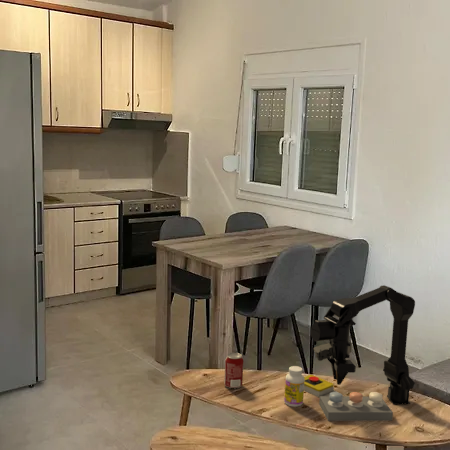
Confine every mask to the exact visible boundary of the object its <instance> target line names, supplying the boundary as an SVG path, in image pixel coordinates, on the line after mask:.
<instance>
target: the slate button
mask: <svg viewBox="0 0 450 450" xmlns="http://www.w3.org/2000/svg"><path fill="white" fill-rule="evenodd" d="M343 396H344V395H343V394H342V393H340V392H338V391H337V392H331V393H330V396H329V400H330V401H332V402H335V403H339V402H342V399H343Z"/></svg>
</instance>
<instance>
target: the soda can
mask: <svg viewBox="0 0 450 450" xmlns="http://www.w3.org/2000/svg"><path fill="white" fill-rule="evenodd" d="M243 358H244V357H243V355H242V354H241V353H239V352H230V353H227V355H226V358H225V360H224V380H223V382H224V383H223V384H224V386H225V387H226V388H228V387H229V389H231V388H234V389H233V390H235V389H236V388H237V389H239V388H241V387H242V386H243V382H244V381H243V379H244V377H243V376H244V375H243V374H244V359H243ZM237 389H236V390H237Z"/></svg>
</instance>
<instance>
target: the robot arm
mask: <svg viewBox="0 0 450 450" xmlns="http://www.w3.org/2000/svg"><path fill="white" fill-rule="evenodd" d="M385 301H387V302H389V310H390V312H391V315H392V318H393V323H392V335H391V336H392V337H391V348H390V357H389V358H388V359H387V360H384V361H383V370H382V371H383V373H384V376H385V377H386V380H387V381H388V382H389V386H388V389H387V395H386V397H387V399H388V400H389V401H390V402H391V403H392V405H411V401H409V400H410V390H411V389H413V388H414V386H415V383H416V382H415V381H414V380H413V379H412V378H411V376H410V367H409V365H408V363H407V360H406V351H407V350H406V349H407V339H408V327H409V319H411V317H412V315H414V311H415V306H416V301H415V299H414V298H413V297H412V296H409V295H407V294H405V293H402V292H399V291H397V290H395V289H393V288H392V287H390V286H387V285H385V284H384V285H380V286H379V287H377V288H374V289H372V290H370V291H368V292H364V293H363V294H360V295H357V296H355V297H350V298H348V297H345V298H339V299H338V298H337V299H335V300H334V301H333V302H332V303H331V306H330V307H329V309H328V310H327V312H326V314H324V316H323V319H322V320H320V319H316V320H314V323H313V324H312V325H311V328H310V336H311V339H312V340H313V341H314V342H322V341H323V342H324V341H328V343H322V344H320V345H317V346H315V347H313V351H314V355H315V358H316V359H317V360H318V362H321V361H324V360H327V361H328V362H329V363H330V366H331V372H332V377H333V380H335V381H336V385H340V386H341V384H342V382H343V381H344V380H345V378H346V377H347V375H348V374H349V373H356V368H357V366H356V364H355V363H354V362H353V361H352V360H351V359H350V354H349V347H351V342H350V333H351V332H350V330H351V326H355V325H356V324H357V323H356V322H355V321H354V320H353V319H354V318H355V317H357V316H358V314H359V313H360V312H361V311H363V310H365V309H368V308H370V307H372V306H375V305H378V304H380V303H383V302H385Z"/></svg>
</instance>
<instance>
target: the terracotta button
mask: <svg viewBox="0 0 450 450" xmlns="http://www.w3.org/2000/svg"><path fill="white" fill-rule="evenodd" d="M348 396H349V400H350V401H352V402H356V403H360V402H362V399H363V396H364V395H363V394H362V393H360V392H358V391H352V392H350V393H349V395H348Z"/></svg>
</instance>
